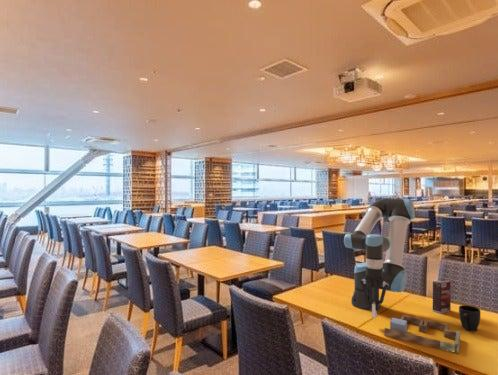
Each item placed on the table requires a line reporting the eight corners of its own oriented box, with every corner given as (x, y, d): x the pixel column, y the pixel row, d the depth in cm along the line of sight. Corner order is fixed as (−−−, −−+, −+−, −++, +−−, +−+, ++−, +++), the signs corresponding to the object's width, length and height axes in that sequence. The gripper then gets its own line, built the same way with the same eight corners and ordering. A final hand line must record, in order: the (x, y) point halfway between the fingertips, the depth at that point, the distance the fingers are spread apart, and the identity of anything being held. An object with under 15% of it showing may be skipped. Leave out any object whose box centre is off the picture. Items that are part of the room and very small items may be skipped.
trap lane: (384, 335, 143) (384, 327, 143) (394, 318, 161) (394, 311, 161) (458, 353, 127) (458, 344, 127) (460, 333, 145) (460, 325, 144)
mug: (453, 331, 147) (453, 310, 147) (462, 323, 155) (462, 303, 155) (475, 337, 141) (474, 315, 141) (482, 329, 148) (482, 308, 148)
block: (390, 333, 146) (390, 322, 146) (393, 328, 151) (392, 317, 151) (404, 336, 142) (404, 325, 142) (407, 331, 147) (407, 320, 147)
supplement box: (441, 314, 166) (440, 283, 166) (432, 310, 170) (431, 281, 170) (451, 311, 170) (451, 281, 170) (442, 308, 174) (442, 278, 174)
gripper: (358, 266, 153) (358, 316, 153) (387, 270, 145) (387, 322, 145) (362, 264, 159) (362, 311, 159) (390, 267, 152) (390, 317, 151)
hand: (374, 316), depth 152 cm, fingers closed
